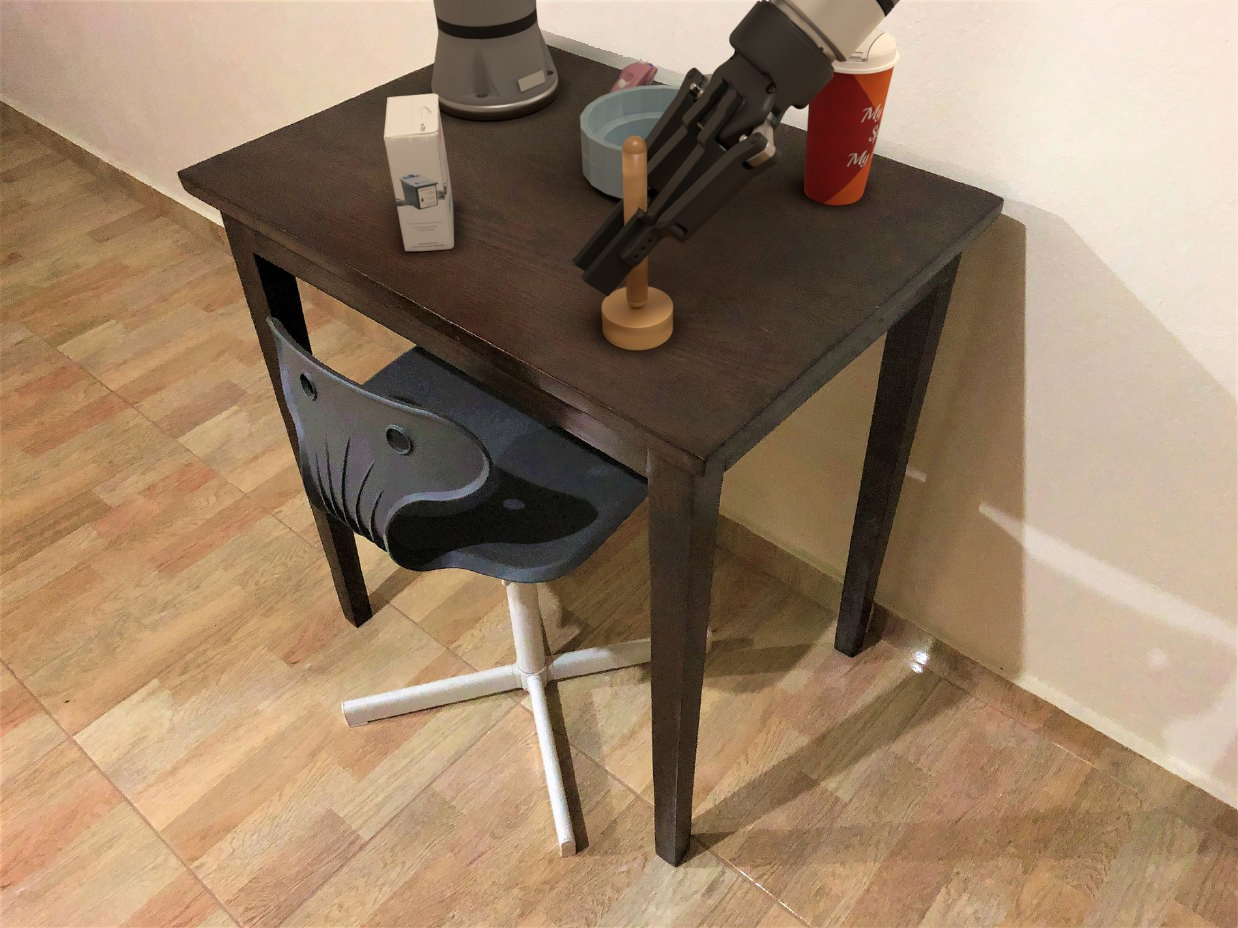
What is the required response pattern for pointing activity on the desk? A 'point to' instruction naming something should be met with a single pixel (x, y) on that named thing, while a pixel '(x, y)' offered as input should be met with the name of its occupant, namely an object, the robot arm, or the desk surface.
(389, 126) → the ink box
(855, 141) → the coffee cup
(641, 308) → the wooden paper towel holder
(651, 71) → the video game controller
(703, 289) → the desk surface
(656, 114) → the bowl
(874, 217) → the desk surface
